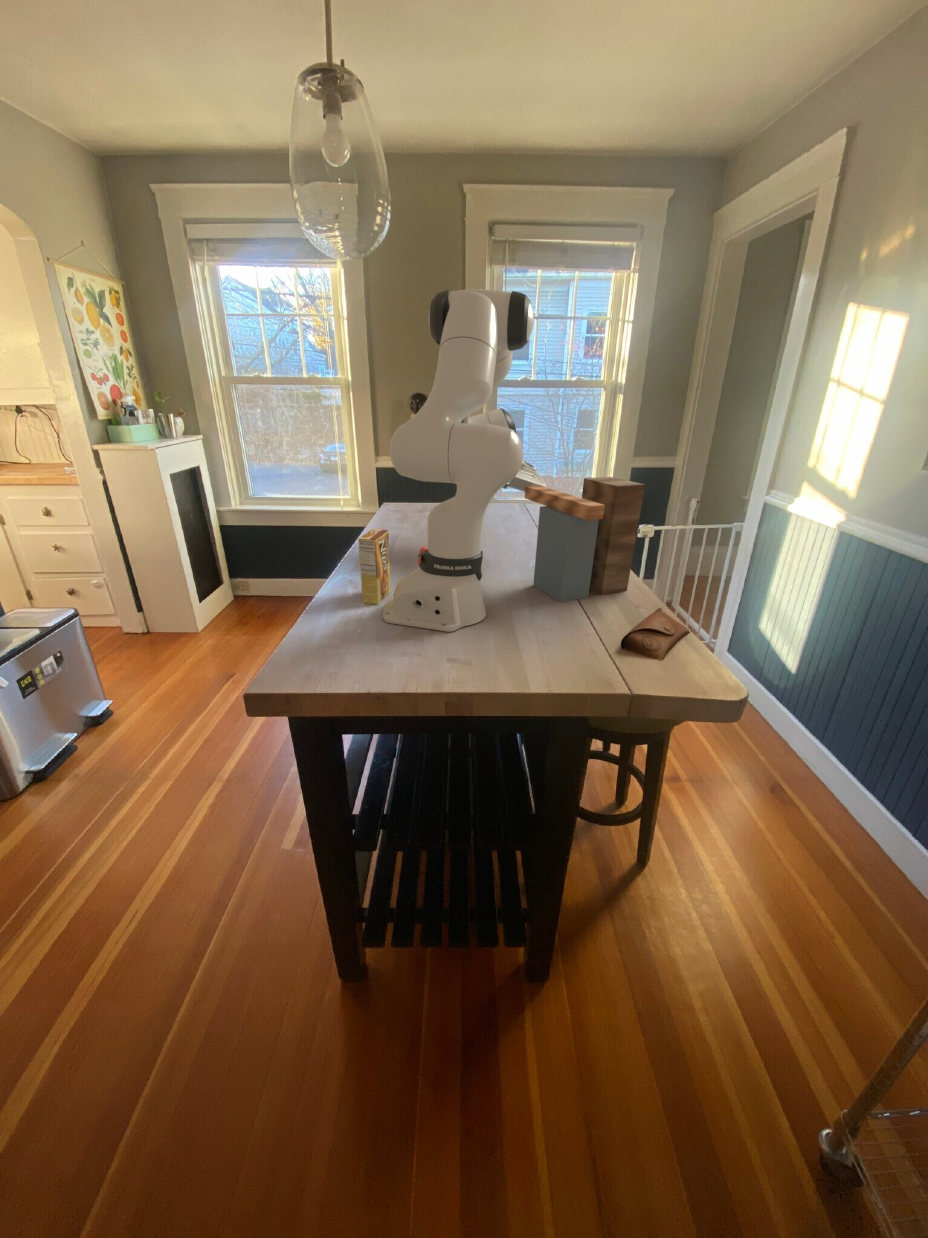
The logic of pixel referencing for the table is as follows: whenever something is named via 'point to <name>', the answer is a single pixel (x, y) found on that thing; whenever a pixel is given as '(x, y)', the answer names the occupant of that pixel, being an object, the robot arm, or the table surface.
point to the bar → (565, 502)
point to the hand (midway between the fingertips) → (520, 490)
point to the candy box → (374, 565)
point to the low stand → (564, 554)
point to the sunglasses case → (654, 635)
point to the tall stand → (614, 531)
